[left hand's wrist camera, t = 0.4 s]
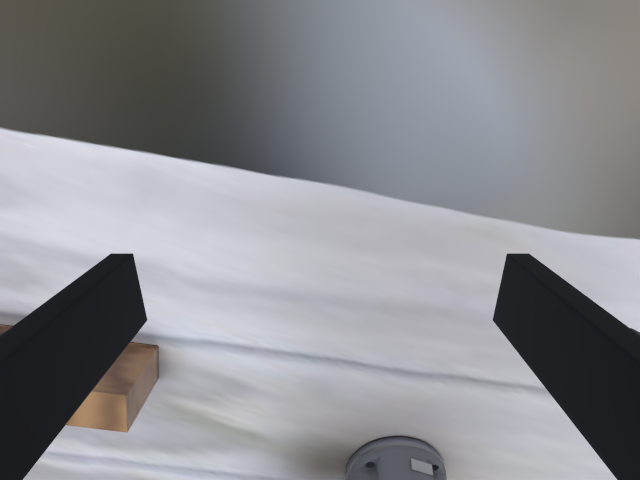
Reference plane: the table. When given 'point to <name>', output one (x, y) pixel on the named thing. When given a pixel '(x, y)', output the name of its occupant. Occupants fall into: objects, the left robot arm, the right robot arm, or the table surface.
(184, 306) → the table surface
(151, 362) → the beam
